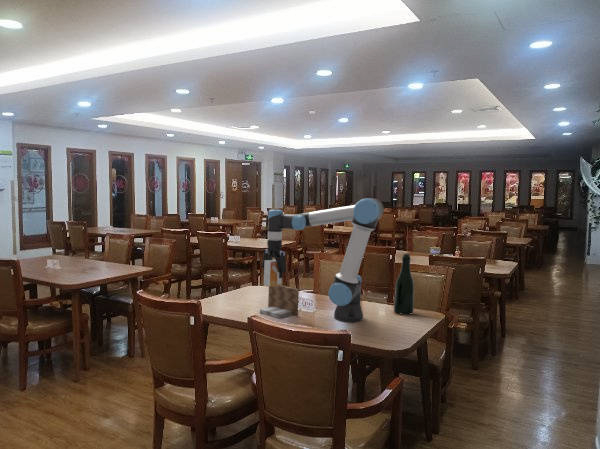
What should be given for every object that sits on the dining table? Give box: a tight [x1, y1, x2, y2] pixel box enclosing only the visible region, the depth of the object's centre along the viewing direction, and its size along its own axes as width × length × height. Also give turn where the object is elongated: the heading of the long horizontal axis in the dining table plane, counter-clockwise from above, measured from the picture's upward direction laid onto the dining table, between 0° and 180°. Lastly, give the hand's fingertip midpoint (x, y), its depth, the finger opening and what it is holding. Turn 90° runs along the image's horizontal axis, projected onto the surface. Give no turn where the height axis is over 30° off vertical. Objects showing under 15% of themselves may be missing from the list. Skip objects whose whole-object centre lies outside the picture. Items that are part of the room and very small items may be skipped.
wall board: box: [259, 285, 300, 319], centre depth 251 cm, size 20×11×14 cm, turn 51°
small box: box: [263, 259, 284, 288], centre depth 246 cm, size 8×6×13 cm
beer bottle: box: [393, 253, 415, 315], centre depth 260 cm, size 10×10×33 cm
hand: (273, 282), depth 247 cm, fingers closed on small box, 7 cm apart
